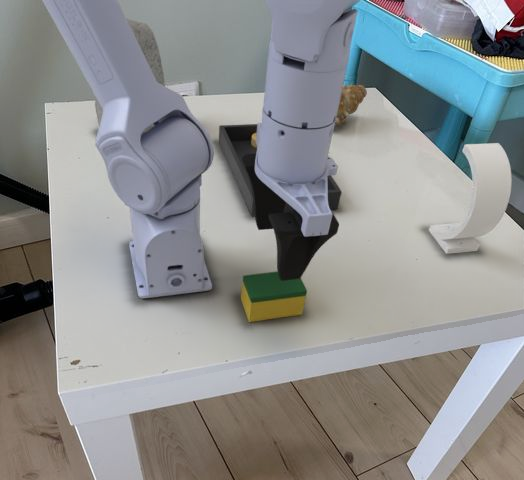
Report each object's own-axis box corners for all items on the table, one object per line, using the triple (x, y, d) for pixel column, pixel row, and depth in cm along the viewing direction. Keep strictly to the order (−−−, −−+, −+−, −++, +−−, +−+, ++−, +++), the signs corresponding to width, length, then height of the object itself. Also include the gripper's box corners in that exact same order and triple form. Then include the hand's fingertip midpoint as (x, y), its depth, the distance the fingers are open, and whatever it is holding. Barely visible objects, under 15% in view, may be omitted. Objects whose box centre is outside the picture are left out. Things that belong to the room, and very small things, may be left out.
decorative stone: (155, 113, 81) (147, 4, 69) (176, 128, 78) (172, 18, 67) (93, 129, 75) (75, 15, 64) (114, 146, 73) (99, 30, 61)
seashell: (313, 124, 90) (349, 72, 85) (341, 152, 87) (379, 100, 82) (283, 110, 83) (319, 52, 78) (311, 140, 80) (352, 82, 75)
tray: (337, 209, 68) (341, 191, 66) (251, 216, 65) (253, 198, 63) (293, 139, 80) (296, 122, 77) (218, 142, 76) (219, 125, 74)
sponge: (292, 292, 56) (296, 268, 54) (302, 314, 54) (307, 291, 52) (240, 299, 55) (242, 275, 52) (248, 322, 53) (251, 298, 50)
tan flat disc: (273, 149, 76) (273, 141, 75) (253, 149, 75) (254, 142, 74) (267, 139, 78) (268, 131, 77) (249, 140, 77) (249, 132, 76)
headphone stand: (458, 227, 68) (498, 143, 59) (481, 256, 64) (528, 170, 55) (428, 230, 67) (464, 144, 58) (449, 259, 63) (492, 172, 54)
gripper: (385, 158, 35) (342, 297, 46) (316, 71, 44) (293, 205, 54) (291, 163, 33) (268, 306, 44) (238, 72, 42) (230, 210, 52)
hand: (277, 251), depth 49 cm, fingers open, 7 cm apart
